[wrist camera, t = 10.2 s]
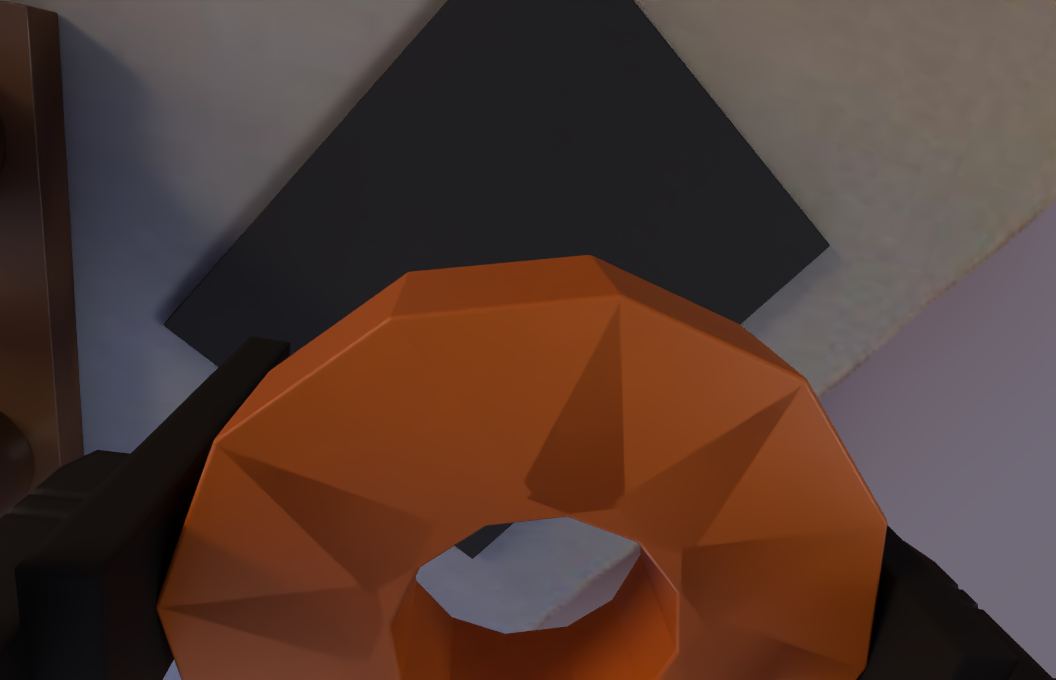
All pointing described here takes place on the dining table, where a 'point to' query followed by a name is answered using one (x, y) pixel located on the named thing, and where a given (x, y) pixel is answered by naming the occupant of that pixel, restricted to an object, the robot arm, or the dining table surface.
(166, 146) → the dining table surface
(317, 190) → the mat
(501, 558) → the dining table surface
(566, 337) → the orange disc
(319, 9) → the dining table surface
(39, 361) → the peg rack
